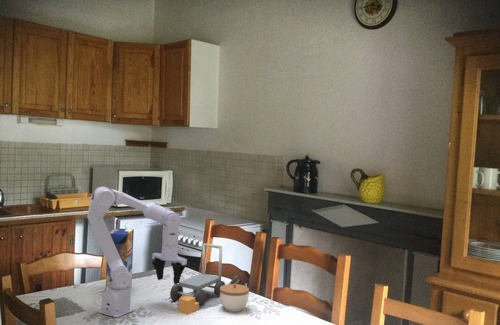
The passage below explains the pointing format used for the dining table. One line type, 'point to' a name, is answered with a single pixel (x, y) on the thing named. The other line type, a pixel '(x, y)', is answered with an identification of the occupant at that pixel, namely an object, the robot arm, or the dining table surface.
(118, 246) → the juice carton
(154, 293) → the dining table surface
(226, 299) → the lidded jar
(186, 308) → the block
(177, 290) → the trolley
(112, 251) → the robot arm
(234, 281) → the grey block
